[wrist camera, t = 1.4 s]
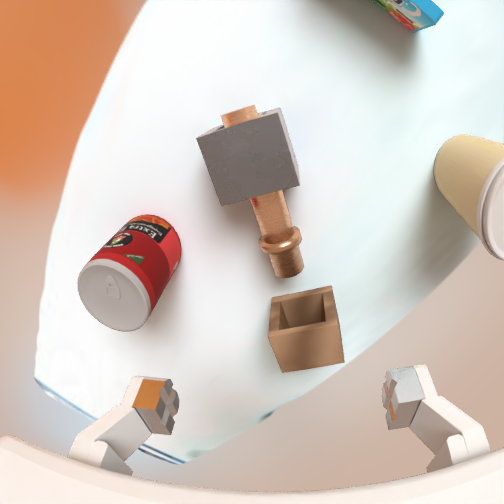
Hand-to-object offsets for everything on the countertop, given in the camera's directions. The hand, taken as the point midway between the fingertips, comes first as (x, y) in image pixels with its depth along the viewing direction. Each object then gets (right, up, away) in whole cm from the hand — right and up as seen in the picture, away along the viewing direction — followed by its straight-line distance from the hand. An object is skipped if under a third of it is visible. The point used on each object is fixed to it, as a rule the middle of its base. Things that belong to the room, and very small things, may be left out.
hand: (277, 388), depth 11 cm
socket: (+6, -2, +28) cm, 28 cm away
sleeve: (0, +15, +19) cm, 24 cm away
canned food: (-12, +6, +26) cm, 29 cm away
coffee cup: (+22, +14, +17) cm, 31 cm away
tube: (+1, +11, +19) cm, 22 cm away
